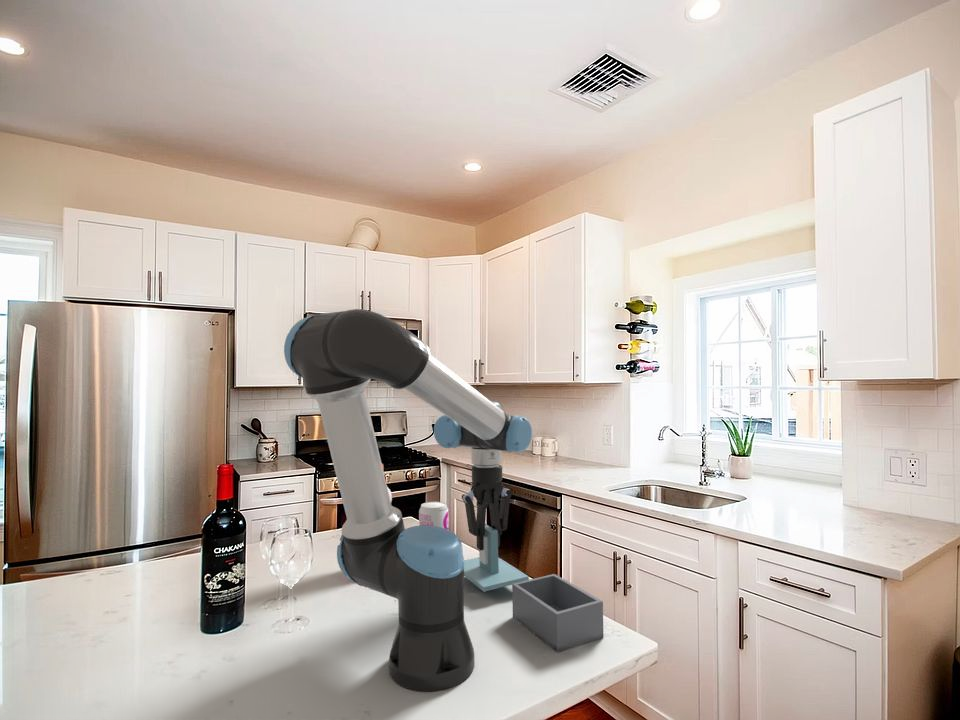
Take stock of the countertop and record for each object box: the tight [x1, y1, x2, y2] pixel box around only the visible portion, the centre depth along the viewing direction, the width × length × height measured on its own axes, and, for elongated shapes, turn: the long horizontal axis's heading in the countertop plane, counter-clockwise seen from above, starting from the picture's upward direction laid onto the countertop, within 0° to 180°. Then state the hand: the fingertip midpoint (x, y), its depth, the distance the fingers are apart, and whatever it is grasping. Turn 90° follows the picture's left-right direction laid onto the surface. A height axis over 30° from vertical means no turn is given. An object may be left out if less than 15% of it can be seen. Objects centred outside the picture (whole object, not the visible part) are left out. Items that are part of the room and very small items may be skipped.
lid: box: [464, 524, 530, 593], centre depth 128 cm, size 17×12×11 cm
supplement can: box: [418, 501, 450, 531], centre depth 147 cm, size 8×8×15 cm
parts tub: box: [511, 573, 604, 653], centre depth 106 cm, size 16×11×7 cm
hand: (488, 561), depth 128 cm, fingers closed on lid, 2 cm apart
